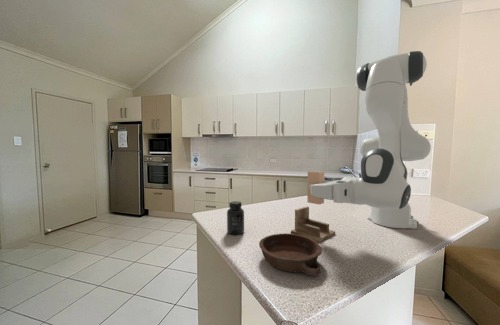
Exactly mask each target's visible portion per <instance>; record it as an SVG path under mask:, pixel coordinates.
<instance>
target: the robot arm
mask: <svg viewBox="0 0 500 325" xmlns="http://www.w3.org/2000/svg"><path fill="white" fill-rule="evenodd" d="M427 65H428V64H427V59H426V57H425V55H424V53H423V52H422V51H420V50H413V51H409V52H406V53H400V54H399V53H398V54H394V55H390V56H387V57H385V58H381V59H378V60H375V61H372V62H370V63H369V62H368V63H365V64H362V65H361V66H360V67H359V68H358V69H357V73H356V76H355V82H356V85H357V87H358V89H359V90H360V91H362V92H365V95H364V96H365V97H364V101H365V102H364V103H365V108H366V112H367V114H368V115H369V117H370V119H371V121H372V122H373V125H374V126H375V128H376V131H377V133H378V136H375V137H370V138H366V139H363V141H362V142H361V144H360V147H359V153H360V155H361V157H362V158H361V161H360V174H361V175H360V176H361V177H356V176H354V177H353V176H344V177H343V178H342V179H340V180H339V179H337V180H331V181H326V182H325V181H324V183H320V184H309V189H311V195H313V196H315V197H319V198H323V199H324V200H330V201H333V202H334V203H337V204H353V205H358V206H362V205H366V206H369V207H371V211H370V212H371V213H370V215H368V216H367V219H368V220H370V221H372V222H373V224H377V225H380V226H383V227H387V228H393V229H411V230H415V229H416V230H417V229H418V221H417V220H418V219H417V217H416V218H415V217H414V216H413V215H412V208H411V206H410V205H411V204H409V200H410V198H411V196H412V195H411V194H412V192H411V191H412V187H411V185H410V184H409V183H408V169H407V167H406V165H405V163H404V162H414V161H420V160H421V161H422V160H425V159H426V158H427V157H428V156H429V154H430V152H431V150H432V149H431V148H432V146H431V143H430V140H428V138H427V137H426V136H424V135H422V134H420V133H418V132H417V130H415V129H414V127H413V126H412V124H411V121H410V119H409V110H408V105H409V102H408V101H409V100H408V99H409V98H408V90H407V89H408V88H407V84H409V86H410V87H411V86H413V84H415V83H416V82H418V81H419V80H420V79H422V78H423V76H424V74H425V72H426V69H427Z"/></svg>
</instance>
